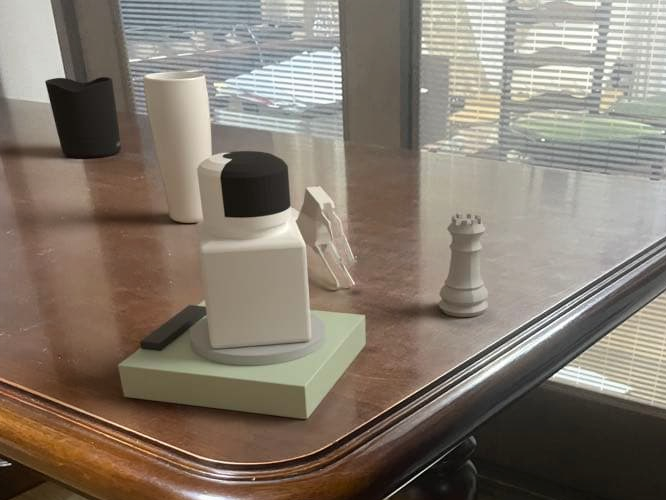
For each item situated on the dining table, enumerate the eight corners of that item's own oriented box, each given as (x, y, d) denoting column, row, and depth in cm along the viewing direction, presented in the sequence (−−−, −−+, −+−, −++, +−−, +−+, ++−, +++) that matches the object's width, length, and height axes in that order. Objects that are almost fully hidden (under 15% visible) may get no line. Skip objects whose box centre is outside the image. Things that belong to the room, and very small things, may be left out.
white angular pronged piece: (347, 341, 88) (291, 228, 96) (360, 247, 79) (296, 132, 87) (330, 343, 87) (274, 230, 96) (341, 249, 78) (279, 133, 86)
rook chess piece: (496, 315, 77) (502, 221, 72) (449, 321, 75) (452, 225, 71) (476, 298, 80) (480, 208, 76) (430, 304, 79) (432, 212, 74)
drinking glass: (152, 217, 103) (130, 75, 95) (202, 208, 107) (185, 69, 99) (182, 229, 99) (161, 81, 91) (233, 218, 103) (217, 75, 94)
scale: (123, 397, 63) (115, 354, 61) (207, 328, 74) (202, 289, 72) (307, 419, 60) (304, 375, 58) (366, 344, 71) (365, 305, 69)
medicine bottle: (300, 308, 68) (289, 143, 62) (312, 342, 63) (301, 164, 56) (208, 315, 67) (186, 147, 60) (211, 350, 62) (187, 169, 55)
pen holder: (89, 162, 129) (75, 86, 123) (47, 154, 133) (31, 81, 128) (137, 151, 136) (125, 78, 130) (95, 144, 140) (82, 74, 134)
